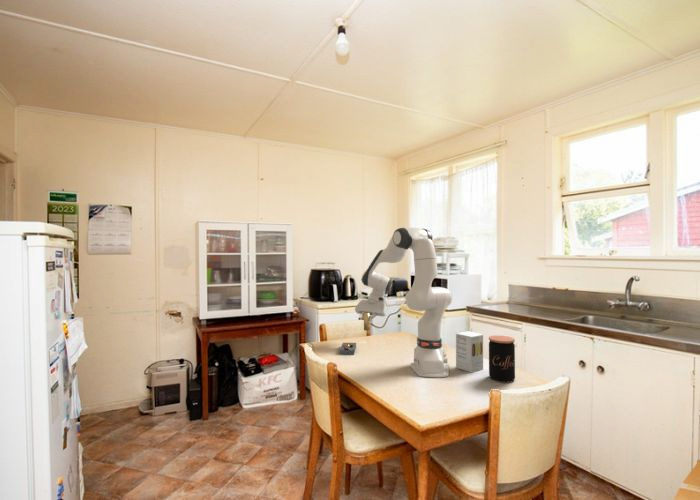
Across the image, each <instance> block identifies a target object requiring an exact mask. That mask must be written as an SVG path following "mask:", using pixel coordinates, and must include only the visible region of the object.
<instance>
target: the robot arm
mask: <svg viewBox="0 0 700 500" xmlns="http://www.w3.org/2000/svg"><path fill="white" fill-rule="evenodd" d="M408 249H409V250H410V249H411V250H412V252H413V262H414V263H413V264H414V265H413V266H414V280H413V284H412V286H411V287H410V289H409V291H407V293H406V295H405V304H406V306H407V308H408V309H410V310H411V311H418V312H419V311H420V312H421V311H424V313H423V315H422V316H421V318H419V320H418V322H417V337H416V344H417V345H416V347H415V348H414V349H413V362H410V365H409V367H410V368H411V369H412V370H413V371H414V372H415V374H416V375H417V376H418V377H424V378H446V377H447V378H448V377H449V376H450V375H449V374H450V373H449V372H450V364H449V363H448V358H446V357H447V353H445V348H443V340H442V337H441V332H442V328H441V327H442V320H443V317H444V314H445V312H446V310H447V308H448V307H449V306H450V305H451V303H452V299H453V296H452V294H451V291H450V290H449V289H448V288H445V287H442V286H432V283H433V281H434V279H435V278H437V276H438V273H439V271H438V262H437V254H436V248H435V244H434V242H433V234H432V232H431V231H430V230H428V229H426V228H419V227H417V228H416V227H399V228H396V230H395V231H394V232H393V234H392V236H391V238H390V240H389V242H388V244H387V246H386V247H385V248H384V249H381V250H379V251H378V252H377V254H376V255H375V257H373V259H372V261H371V262H370V264H369V265H368V267H367V269H366V270H365V271H364V272H363V274H362V275H361V279H360V280H361V283H362V285H364V286H366V287H370V288H371V289H372V290H371V292H370V294H369V296H368V298H367V299H366V300H365V299H362V300H359V302H358V303H357V305H356V306H355V309H354V311H355V313H356V314H359V315H361V320H362V321H364V312H369V313H370V317H369V319H368V320H369V321H370V322H372V321H373V320H374V318H376V317H385V316H386V315H387V312H388V309H389V307H390V306H389V303H388V301H387V300H386V298H385V297H386V296H387V295H388V294H390V291H391V288H392V287H393V281H392V278H390V277H389V276H387V275H383V274H382V273H379V272H376V271H375V270H376V269H377V267H378V266H379V264H381V263H382V264H383V263H387V264H395V263H400V262H401V261H403V259H404V258H405V256H406V254H407V252H408Z"/></svg>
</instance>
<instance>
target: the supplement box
mask: <svg viewBox="0 0 700 500" xmlns="http://www.w3.org/2000/svg"><path fill="white" fill-rule="evenodd" d="M455 367H456V368H457V369H460V370H462V371H464V372H465V371H466V372H469V373H474V372H478V371H481V370H484V334H482V333H478V332H473V331H468V330H467V331H462V332H457V333H455Z"/></svg>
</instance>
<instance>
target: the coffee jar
mask: <svg viewBox="0 0 700 500" xmlns="http://www.w3.org/2000/svg"><path fill="white" fill-rule="evenodd" d="M488 340H489V342H488V376H489V377H490V379H491V380H492V381H495V382H498V381H499V383H506V382H507V383H512V382H514V381H515V378H516V345H515V338H514V337H510V336H507V335H490V336H489V337H488ZM511 381H512V382H511Z"/></svg>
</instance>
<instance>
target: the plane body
mask: <svg viewBox="0 0 700 500" xmlns="http://www.w3.org/2000/svg"><path fill="white" fill-rule="evenodd" d="M356 349H357V342H342V343H341V346H340V348H339V355H345V356H348V355H349V356H350V355H351V356H354V355H355V353H356Z"/></svg>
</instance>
